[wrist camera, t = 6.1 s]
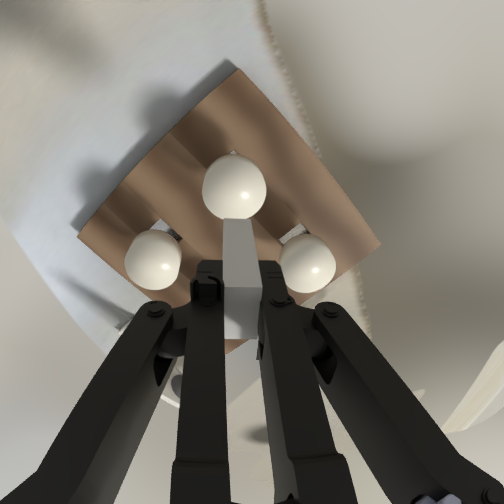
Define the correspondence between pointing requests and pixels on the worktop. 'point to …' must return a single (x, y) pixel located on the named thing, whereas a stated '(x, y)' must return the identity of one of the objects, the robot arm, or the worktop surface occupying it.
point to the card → (170, 380)
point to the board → (192, 204)
